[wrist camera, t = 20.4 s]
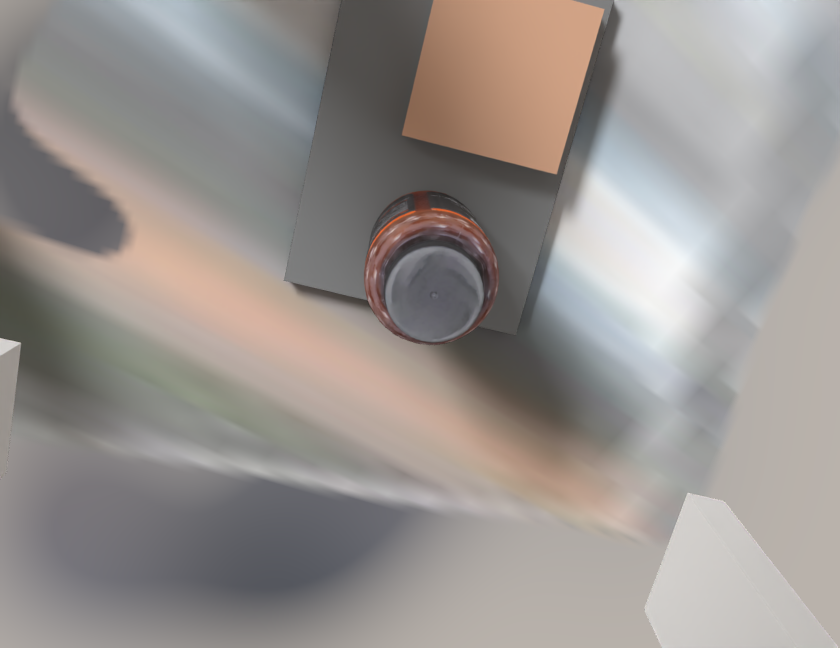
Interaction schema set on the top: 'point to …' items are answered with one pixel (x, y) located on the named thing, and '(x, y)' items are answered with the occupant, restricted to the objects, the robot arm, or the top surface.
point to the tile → (502, 77)
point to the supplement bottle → (430, 269)
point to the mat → (408, 162)
